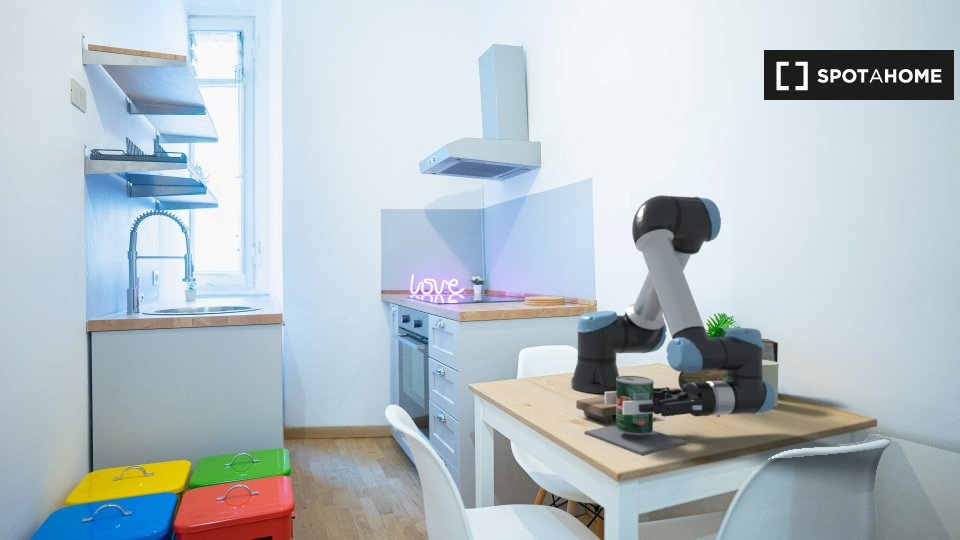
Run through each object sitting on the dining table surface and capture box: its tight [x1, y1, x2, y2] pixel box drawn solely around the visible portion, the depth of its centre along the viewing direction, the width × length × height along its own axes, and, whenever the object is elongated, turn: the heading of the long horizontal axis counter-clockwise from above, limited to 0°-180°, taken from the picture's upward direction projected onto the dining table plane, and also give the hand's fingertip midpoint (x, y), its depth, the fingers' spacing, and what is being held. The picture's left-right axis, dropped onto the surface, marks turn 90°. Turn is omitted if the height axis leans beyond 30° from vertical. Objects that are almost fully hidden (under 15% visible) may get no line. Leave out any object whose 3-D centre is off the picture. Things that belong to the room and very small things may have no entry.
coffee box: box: [762, 338, 779, 363], centre depth 165 cm, size 9×6×16 cm
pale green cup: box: [762, 360, 780, 408], centre depth 154 cm, size 9×9×12 cm
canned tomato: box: [615, 375, 654, 435], centre depth 121 cm, size 8×8×11 cm
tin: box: [677, 371, 727, 391], centre depth 163 cm, size 15×3×8 cm, turn 91°
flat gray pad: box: [584, 424, 687, 456], centre depth 121 cm, size 16×14×1 cm
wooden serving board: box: [575, 395, 616, 424], centre depth 138 cm, size 9×16×4 cm, turn 123°
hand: (614, 402), depth 120 cm, fingers closed on canned tomato, 8 cm apart
